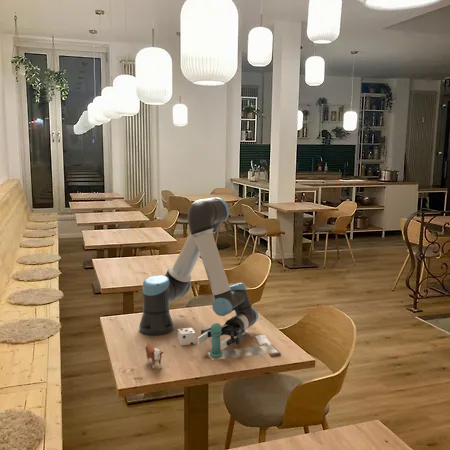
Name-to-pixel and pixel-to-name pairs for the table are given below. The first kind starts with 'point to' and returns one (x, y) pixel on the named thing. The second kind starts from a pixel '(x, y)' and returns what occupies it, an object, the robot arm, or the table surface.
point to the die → (186, 336)
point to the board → (244, 352)
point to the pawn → (216, 340)
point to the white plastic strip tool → (262, 340)
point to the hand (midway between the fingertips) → (209, 343)
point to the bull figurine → (153, 355)
